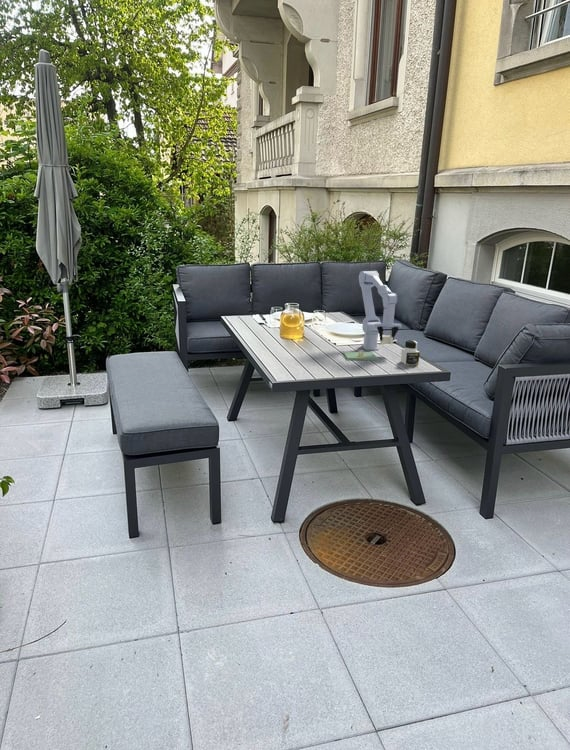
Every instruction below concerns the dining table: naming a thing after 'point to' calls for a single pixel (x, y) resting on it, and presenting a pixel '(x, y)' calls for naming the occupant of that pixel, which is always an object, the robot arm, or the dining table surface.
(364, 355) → the header board
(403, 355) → the medicine bottle
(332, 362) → the dining table surface
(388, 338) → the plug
